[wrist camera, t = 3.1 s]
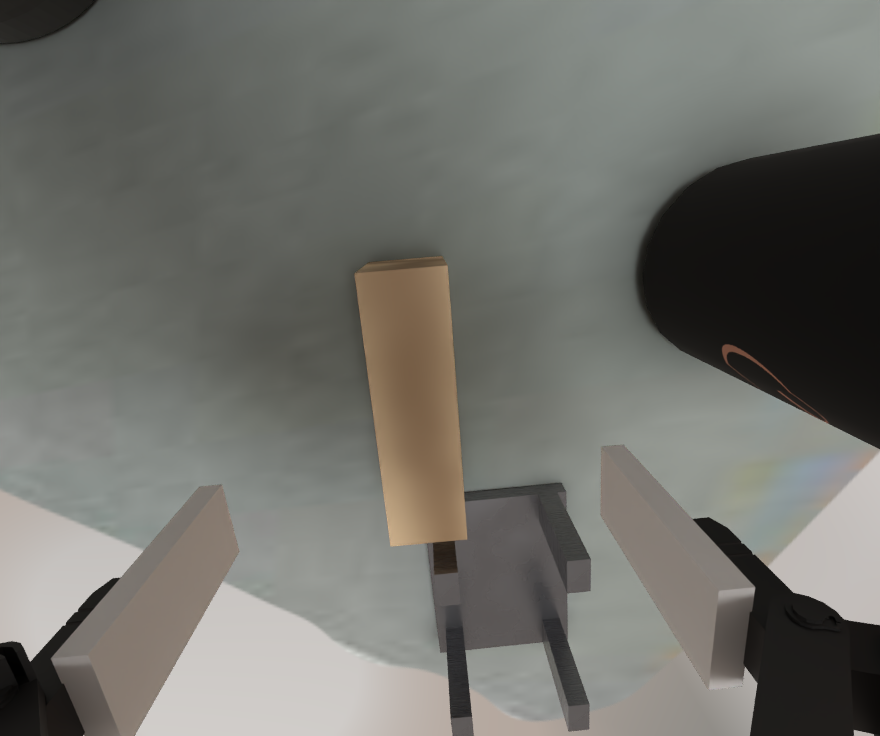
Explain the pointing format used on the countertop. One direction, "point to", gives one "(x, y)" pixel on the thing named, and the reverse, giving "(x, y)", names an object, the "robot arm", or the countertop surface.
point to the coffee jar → (781, 278)
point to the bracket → (511, 589)
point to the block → (414, 397)
